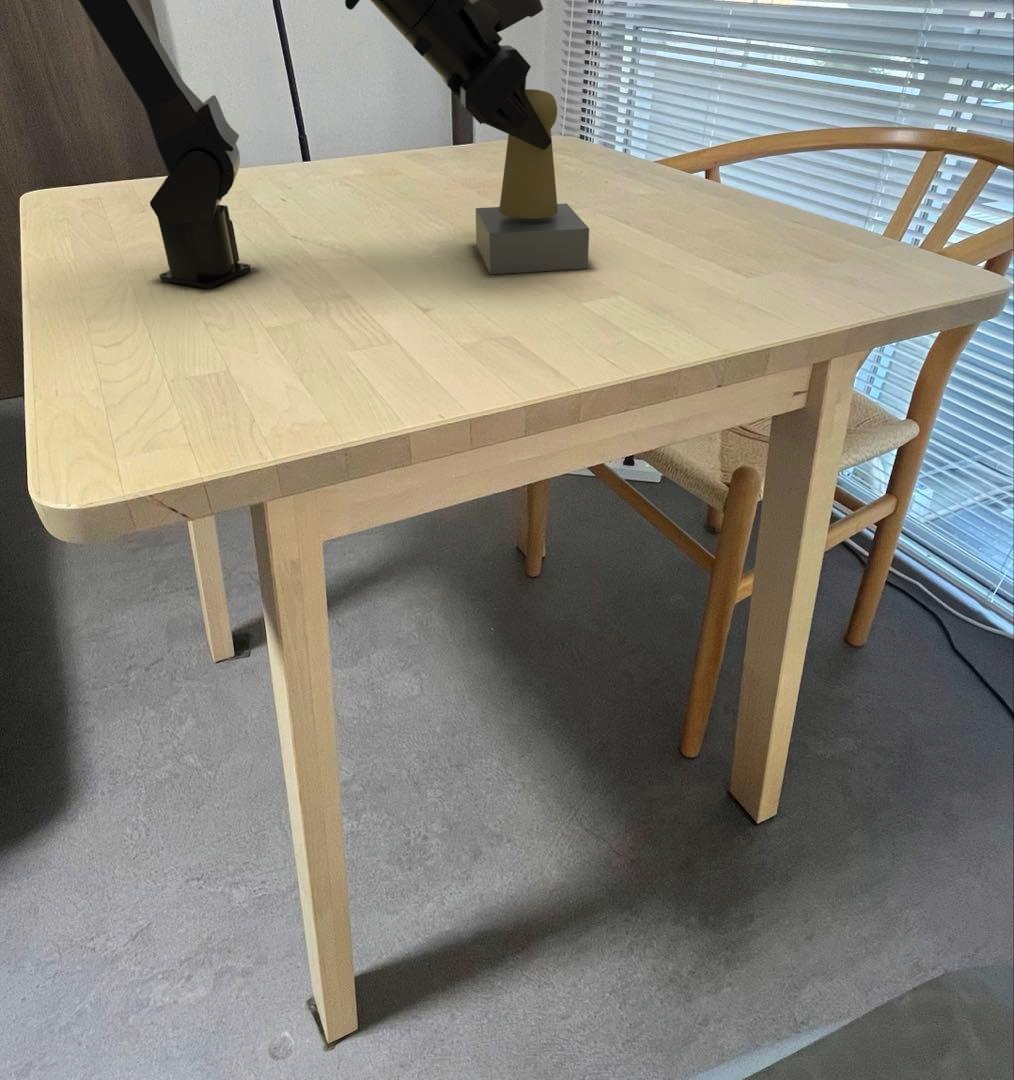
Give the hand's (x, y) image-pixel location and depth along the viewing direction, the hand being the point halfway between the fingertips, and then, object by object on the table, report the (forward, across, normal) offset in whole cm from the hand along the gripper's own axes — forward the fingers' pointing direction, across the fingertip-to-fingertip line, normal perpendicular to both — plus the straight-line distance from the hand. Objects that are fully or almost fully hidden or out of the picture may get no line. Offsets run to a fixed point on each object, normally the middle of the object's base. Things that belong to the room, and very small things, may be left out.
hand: (542, 140), depth 85 cm
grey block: (+7, 0, +9) cm, 11 cm away
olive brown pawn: (+4, 0, +6) cm, 7 cm away
